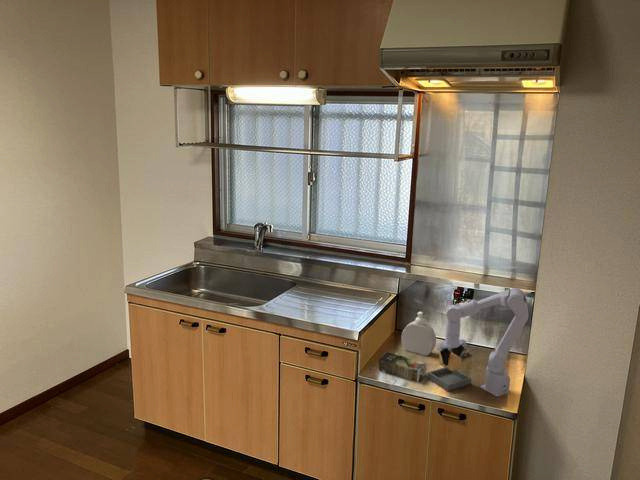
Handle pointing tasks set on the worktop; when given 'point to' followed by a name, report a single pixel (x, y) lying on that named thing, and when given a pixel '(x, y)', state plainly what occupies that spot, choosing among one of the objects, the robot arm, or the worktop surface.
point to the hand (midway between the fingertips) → (450, 363)
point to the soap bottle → (419, 336)
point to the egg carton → (461, 353)
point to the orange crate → (451, 362)
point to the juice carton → (402, 367)
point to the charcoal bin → (449, 379)
